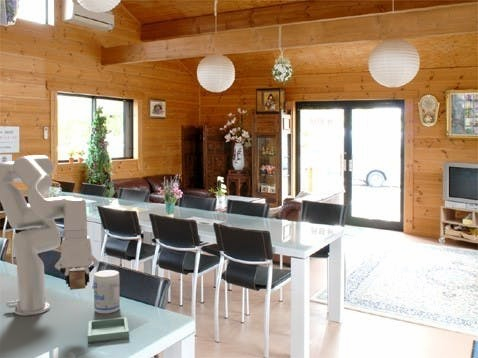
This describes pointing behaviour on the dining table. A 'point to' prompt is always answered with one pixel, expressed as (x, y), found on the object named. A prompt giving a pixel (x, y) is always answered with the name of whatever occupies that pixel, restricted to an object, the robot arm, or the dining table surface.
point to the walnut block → (77, 278)
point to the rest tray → (108, 330)
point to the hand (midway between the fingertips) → (77, 284)
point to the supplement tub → (106, 291)
